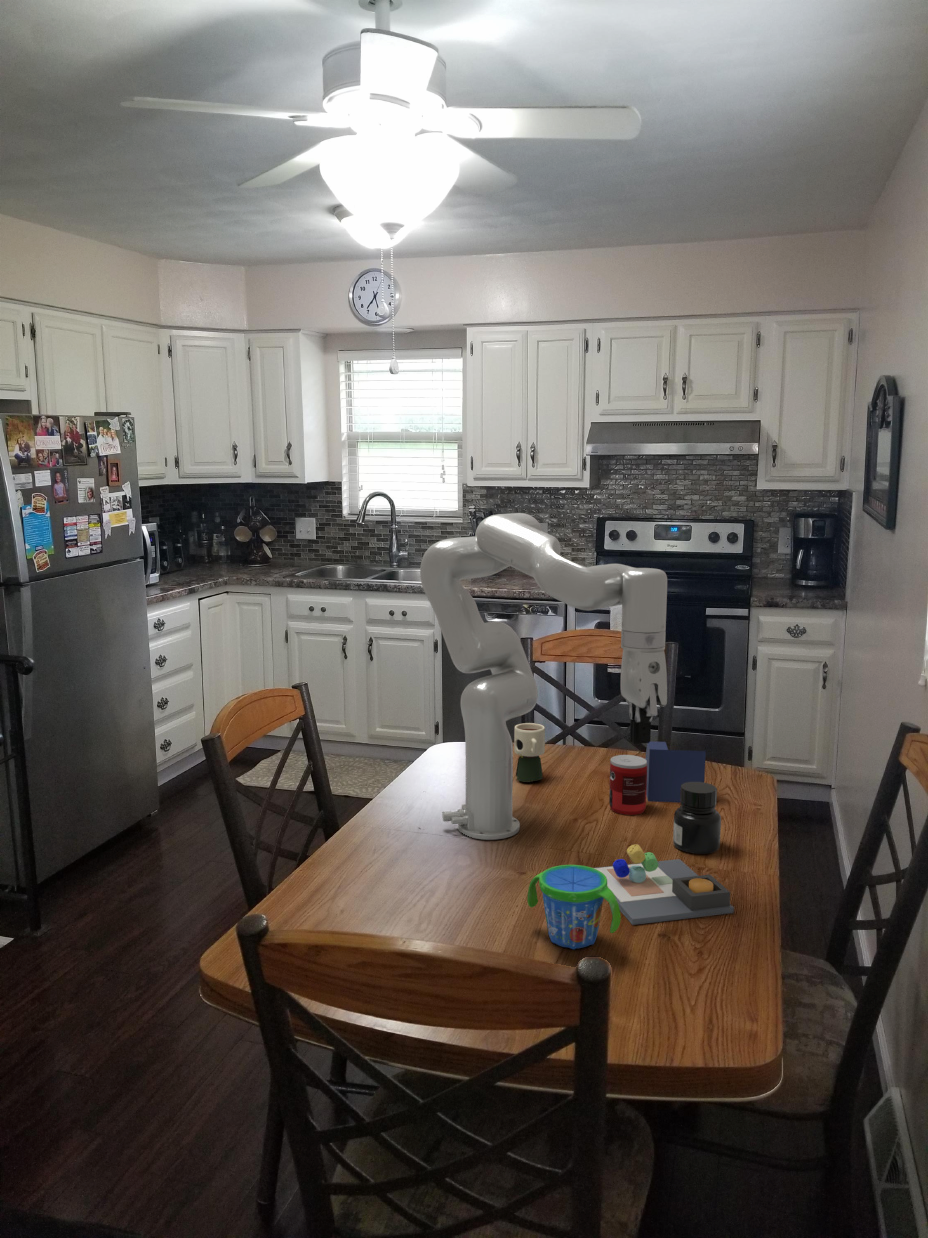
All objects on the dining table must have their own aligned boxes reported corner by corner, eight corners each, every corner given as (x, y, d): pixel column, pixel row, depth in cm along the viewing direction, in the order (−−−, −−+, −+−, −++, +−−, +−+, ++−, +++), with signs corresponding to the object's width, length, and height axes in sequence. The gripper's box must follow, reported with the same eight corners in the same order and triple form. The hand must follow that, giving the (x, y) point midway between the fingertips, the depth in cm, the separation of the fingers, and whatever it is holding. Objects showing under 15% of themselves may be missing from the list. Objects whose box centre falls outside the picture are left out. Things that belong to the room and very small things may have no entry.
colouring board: (632, 925, 153) (633, 904, 153) (588, 873, 172) (588, 855, 172) (733, 913, 157) (734, 893, 157) (679, 864, 176) (680, 846, 176)
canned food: (620, 800, 210) (621, 752, 208) (652, 808, 205) (654, 759, 203) (602, 809, 204) (603, 760, 203) (634, 818, 199) (636, 768, 198)
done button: (695, 903, 158) (695, 889, 157) (684, 893, 161) (684, 879, 161) (717, 901, 159) (717, 887, 158) (705, 890, 162) (706, 877, 162)
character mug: (509, 773, 228) (509, 721, 226) (538, 772, 229) (538, 720, 227) (519, 789, 218) (520, 734, 215) (549, 787, 219) (550, 732, 217)
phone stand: (696, 785, 220) (698, 735, 218) (703, 803, 208) (705, 751, 206) (643, 783, 221) (645, 734, 219) (647, 801, 210) (649, 749, 208)
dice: (615, 884, 165) (616, 849, 164) (610, 878, 168) (611, 843, 167) (659, 882, 166) (660, 847, 165) (654, 875, 169) (655, 841, 168)
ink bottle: (682, 833, 191) (684, 776, 189) (725, 842, 187) (728, 784, 185) (666, 850, 183) (668, 790, 181) (711, 860, 178) (714, 799, 177)
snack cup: (512, 934, 150) (512, 873, 149) (553, 911, 158) (554, 853, 156) (593, 970, 140) (594, 905, 138) (633, 944, 147) (635, 882, 146)
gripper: (682, 646, 158) (678, 753, 161) (645, 631, 172) (642, 729, 175) (640, 648, 156) (637, 756, 159) (606, 633, 171) (604, 732, 174)
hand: (640, 742), depth 167 cm, fingers closed
